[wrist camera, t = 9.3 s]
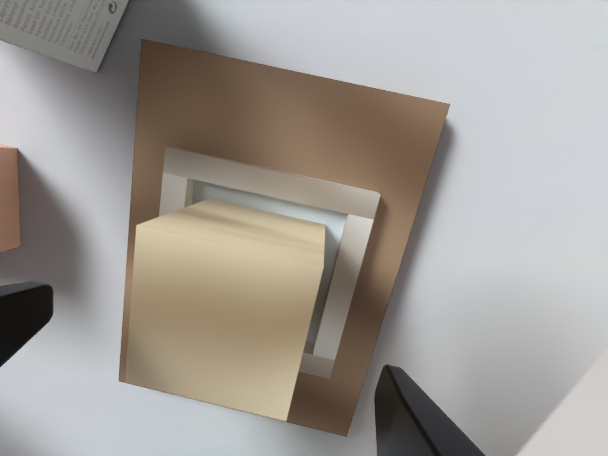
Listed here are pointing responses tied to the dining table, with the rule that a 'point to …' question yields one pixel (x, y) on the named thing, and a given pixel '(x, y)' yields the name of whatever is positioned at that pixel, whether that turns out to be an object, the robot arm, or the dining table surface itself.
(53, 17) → the small box
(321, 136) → the walnut board
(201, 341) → the maple block
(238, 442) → the dining table surface
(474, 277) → the dining table surface
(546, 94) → the dining table surface
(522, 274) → the dining table surface
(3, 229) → the terracotta block
